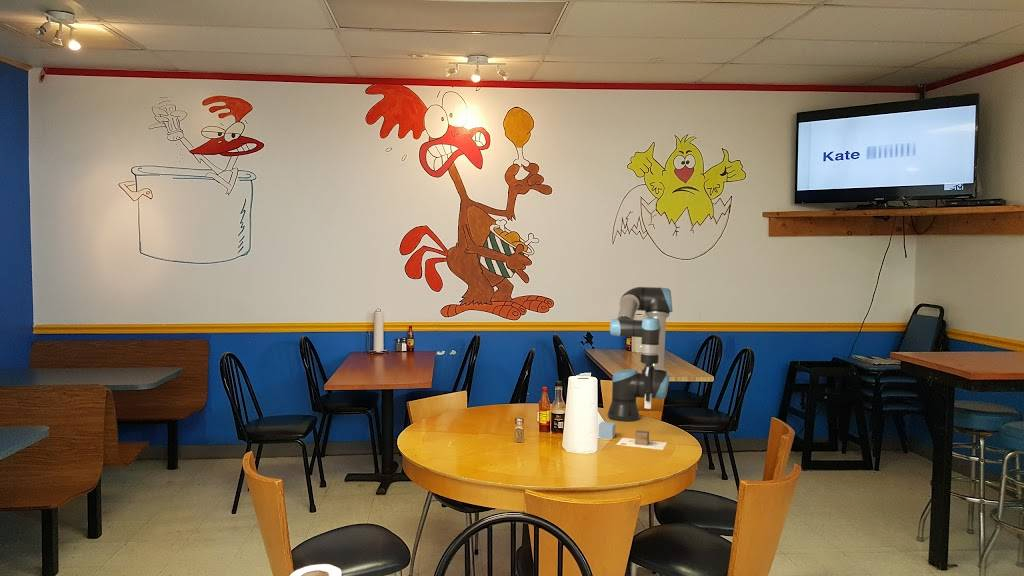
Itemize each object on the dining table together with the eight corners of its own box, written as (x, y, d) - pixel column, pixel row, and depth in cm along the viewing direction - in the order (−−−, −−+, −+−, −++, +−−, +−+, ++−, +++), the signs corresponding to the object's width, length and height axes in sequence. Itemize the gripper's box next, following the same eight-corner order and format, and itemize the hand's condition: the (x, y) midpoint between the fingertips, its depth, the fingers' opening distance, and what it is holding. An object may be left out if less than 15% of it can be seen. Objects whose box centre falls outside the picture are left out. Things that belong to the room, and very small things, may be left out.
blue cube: (601, 435, 330) (602, 421, 329) (615, 436, 327) (615, 423, 327) (598, 438, 324) (598, 424, 324) (612, 439, 322) (612, 426, 322)
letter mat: (619, 436, 327) (619, 436, 327) (671, 442, 319) (671, 441, 319) (611, 445, 312) (611, 445, 312) (665, 452, 304) (665, 451, 304)
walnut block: (636, 441, 319) (637, 429, 318) (648, 442, 317) (649, 431, 317) (634, 444, 314) (635, 432, 314) (646, 445, 312) (647, 433, 312)
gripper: (643, 351, 332) (641, 404, 333) (638, 355, 320) (636, 410, 321) (660, 352, 330) (658, 406, 331) (656, 356, 317) (654, 411, 319)
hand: (647, 408), depth 326 cm, fingers closed
